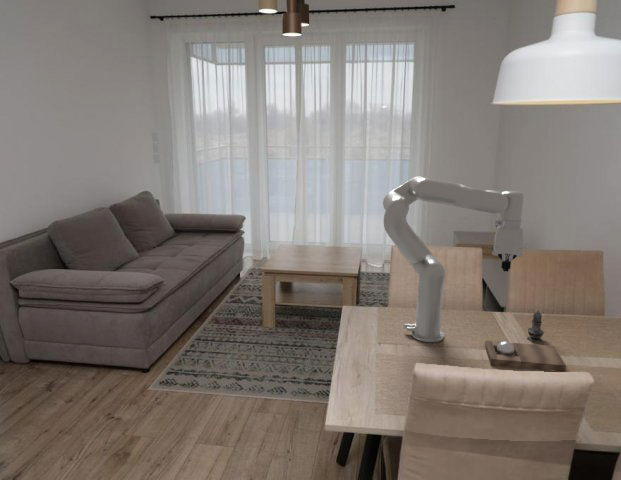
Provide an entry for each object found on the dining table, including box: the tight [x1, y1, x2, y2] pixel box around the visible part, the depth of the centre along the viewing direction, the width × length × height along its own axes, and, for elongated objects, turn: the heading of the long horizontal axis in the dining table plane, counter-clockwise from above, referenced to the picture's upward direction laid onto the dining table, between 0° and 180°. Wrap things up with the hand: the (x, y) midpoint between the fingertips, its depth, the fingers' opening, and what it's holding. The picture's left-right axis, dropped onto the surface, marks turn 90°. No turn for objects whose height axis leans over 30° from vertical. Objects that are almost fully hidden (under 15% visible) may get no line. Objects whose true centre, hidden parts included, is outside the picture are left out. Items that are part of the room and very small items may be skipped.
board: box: [484, 340, 567, 372], centre depth 175 cm, size 24×15×2 cm, turn 78°
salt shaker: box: [527, 310, 545, 343], centre depth 190 cm, size 6×6×12 cm
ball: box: [496, 340, 515, 356], centre depth 176 cm, size 6×6×6 cm
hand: (505, 270), depth 188 cm, fingers closed
